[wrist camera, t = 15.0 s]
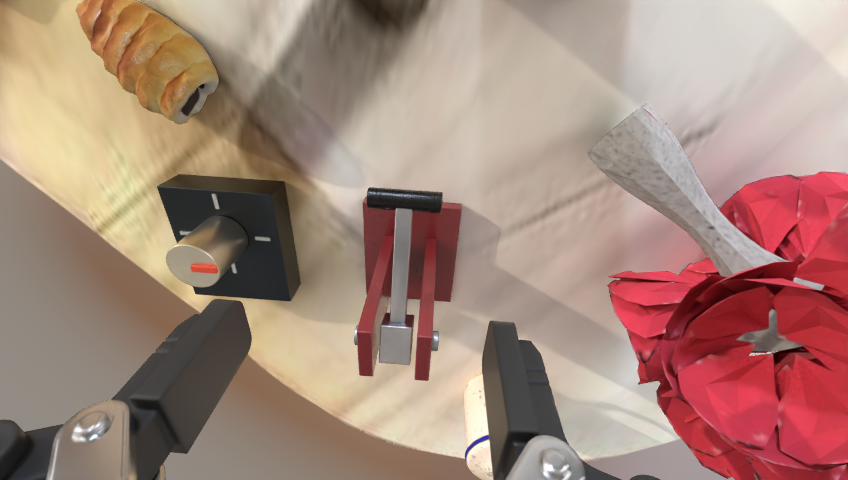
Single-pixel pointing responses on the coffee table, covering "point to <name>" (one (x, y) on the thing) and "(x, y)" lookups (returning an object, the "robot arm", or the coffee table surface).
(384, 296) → the bracket
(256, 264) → the dial panel
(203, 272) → the dial
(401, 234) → the lever
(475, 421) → the teacup with lid
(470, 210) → the coffee table surface
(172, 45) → the pastry
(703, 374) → the bouquet
